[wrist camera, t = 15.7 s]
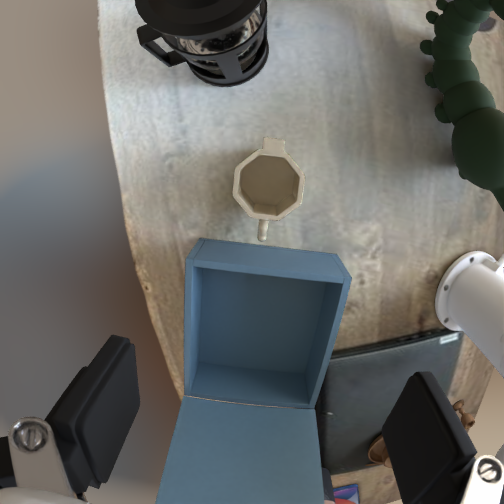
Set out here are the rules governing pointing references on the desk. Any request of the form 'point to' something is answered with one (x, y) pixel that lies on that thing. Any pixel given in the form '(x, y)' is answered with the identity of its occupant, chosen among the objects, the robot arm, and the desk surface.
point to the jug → (268, 184)
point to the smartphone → (347, 494)
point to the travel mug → (327, 487)
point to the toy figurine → (467, 93)
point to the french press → (207, 36)
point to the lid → (242, 456)
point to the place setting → (378, 448)
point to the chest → (260, 322)
